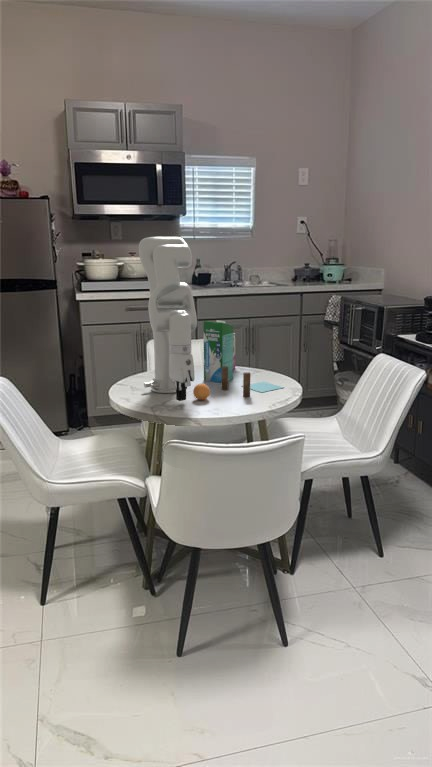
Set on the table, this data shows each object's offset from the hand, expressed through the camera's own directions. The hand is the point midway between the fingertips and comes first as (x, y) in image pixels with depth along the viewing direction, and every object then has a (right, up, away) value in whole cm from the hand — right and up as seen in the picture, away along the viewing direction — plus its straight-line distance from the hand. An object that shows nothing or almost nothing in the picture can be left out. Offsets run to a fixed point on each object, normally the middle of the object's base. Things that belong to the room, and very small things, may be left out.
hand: (181, 399), depth 187 cm
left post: (+16, +4, +20) cm, 26 cm away
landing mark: (+31, +4, +23) cm, 39 cm away
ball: (+7, +3, +5) cm, 9 cm away
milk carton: (+13, +7, +36) cm, 39 cm away
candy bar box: (+18, +12, +52) cm, 57 cm away
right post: (+24, +1, +10) cm, 26 cm away
